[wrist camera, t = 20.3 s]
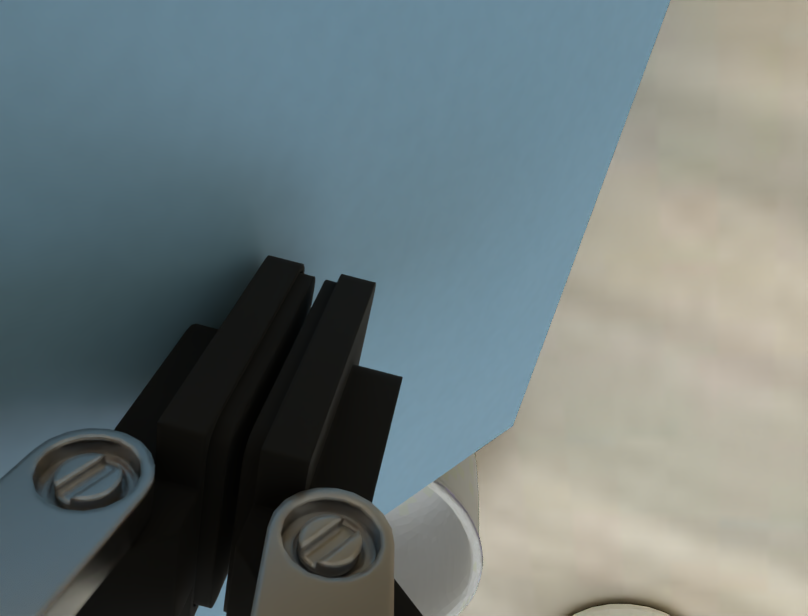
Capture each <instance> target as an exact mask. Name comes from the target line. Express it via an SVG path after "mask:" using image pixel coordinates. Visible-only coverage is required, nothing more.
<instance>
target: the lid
mask: <svg viewBox="0 0 808 616" xmlns="http://www.w3.org/2000/svg"><path fill="white" fill-rule="evenodd" d="M669 3H670V0H0V479H1V478H2V477H3V476H4V475H5V474H6V473H7V472H8V471H10V470H11V469H12V468H13V467H14V466H15V465H16V464H17V463H19V462H20V461H21V460H22V459H23V458H24V457H25V456H26V455H28V454H29V453H30V452H31V451H32V450H33V449H35V448H36V447H38V446H39V445H41V444H42V443H43V442H45V441H46V440H48V439H50V438H52V437H55V436H57V435H60V434H63V433H65V432H68V431H74V430H80V429H86V428H102V429H111V430H114V429H115V428H116V426H117V425H118V424H119V422H120V421H121V419H122V418H123V417H124V415H125V414H126V413H127V411H128V410H129V408H130V407H131V406H132V404H133V403H134V402H135V400H136V399H137V397H138V396H139V395H140V393H141V392H142V391H143V389H144V388H145V386H146V385H147V384H148V382H149V381H150V380H151V378H152V377H153V375H154V374H155V373H156V371H157V370H158V369H159V367H160V366H161V364H162V363H163V362H164V360H165V359H166V358H167V356H168V355H169V354H170V352H171V351H172V349H173V348H174V347H175V345H176V344H177V343H178V341H179V340H180V338H181V337H182V336H183V334H184V333H185V332H186V330H187V329H188V328H189V327H190V326H191V325H193V324H200V325H204V326H208V327H211V328H215V329H219V328H220V326H221V325H222V323H223V322H224V320H225V319H226V317H227V316H228V314H229V313H230V311H231V310H232V308H233V307H234V305H235V304H236V302H237V301H238V299H239V298H240V296H241V295H242V293H243V292H244V290H245V289H246V287H247V286H248V284H249V283H250V281H251V280H252V278H253V277H254V275H255V274H256V272H257V271H258V269H259V267H260V266H261V264H262V263H263V261H264V260H265V258H266V257H267V256H268V255H270V256H274V257H278V258H282V259H286V260H290V261H294V262H298V263H302V264H304V266H305V272H304V274H307V275H311V276H314V277H315V288H314V294H313V300H312V305H313V303H314V301H315V299H316V297H317V295H318V293H319V291H320V289H321V287H322V285H323V283H324V281H325V280H330V281H334V282H337V281H338V279H339V277H340V275H341V274H345V275H348V276H352V277H356V278H360V279H364V280H368V281H372V282H376V288H375V293H374V298H373V303H372V307H371V312H370V316H369V321H368V325H367V330H366V335H365V339H364V344H363V348H362V353H361V357H360V362H359V366H362V367H366V368H370V369H374V370H378V371H382V372H386V373H390V374H393V375H397V376H401V377H403V379H402V383H401V387H400V391H399V395H398V399H397V403H396V407H395V411H394V415H393V419H392V423H391V428H390V432H389V436H388V440H387V444H386V448H385V452H384V456H383V460H382V464H381V468H380V472H379V476H378V480H377V484H376V488H375V492H374V497H373V501H372V504H373V505H375V506H376V507H377V508H378V509H379V510H380V511H381V512H382V513H383V514H384V516H385V515H386V514H387V513H389V512H390V511H392V510H393V509H395V508H396V507H397V506H399V505H400V504H402V503H403V502H405V501H406V500H407V499H409V498H410V497H412V496H413V495H415V494H416V493H417V492H419V491H420V490H422V489H423V488H425V487H426V486H427V485H429V484H430V483H432V482H433V481H435V480H436V479H437V478H439V477H440V476H442V475H443V474H445V473H446V472H447V471H449V470H450V469H452V468H453V467H455V466H456V465H457V464H459V463H460V462H462V461H463V460H465V459H466V458H467V457H469V456H470V455H472V454H473V453H475V452H476V451H478V450H479V449H480V448H482V447H483V446H485V445H486V444H488V443H489V442H490V441H492V440H493V439H495V438H496V437H498V436H499V435H500V434H502V433H503V432H505V431H506V430H508V429H509V428H510V427H512V426H513V424H514V421H515V418H516V416H517V413H518V410H519V408H520V405H521V402H522V400H523V397H524V394H525V392H526V389H527V386H528V383H529V381H530V378H531V375H532V373H533V370H534V367H535V365H536V362H537V359H538V356H539V354H540V351H541V348H542V346H543V343H544V340H545V338H546V335H547V332H548V329H549V327H550V324H551V321H552V319H553V316H554V313H555V311H556V308H557V305H558V302H559V300H560V297H561V294H562V292H563V289H564V286H565V284H566V281H567V278H568V275H569V273H570V270H571V267H572V265H573V262H574V259H575V257H576V254H577V251H578V248H579V246H580V243H581V240H582V238H583V235H584V232H585V230H586V227H587V224H588V221H589V219H590V216H591V213H592V211H593V208H594V205H595V203H596V200H597V197H598V194H599V192H600V189H601V186H602V184H603V181H604V178H605V176H606V173H607V170H608V167H609V165H610V162H611V159H612V157H613V154H614V151H615V149H616V146H617V143H618V140H619V138H620V135H621V132H622V130H623V127H624V124H625V122H626V119H627V116H628V113H629V111H630V108H631V105H632V103H633V100H634V97H635V95H636V92H637V89H638V87H639V84H640V81H641V78H642V76H643V73H644V70H645V68H646V65H647V62H648V60H649V57H650V54H651V51H652V49H653V46H654V43H655V41H656V38H657V35H658V33H659V30H660V27H661V24H662V22H663V19H664V16H665V14H666V11H667V8H668V6H669ZM312 305H311V307H312ZM227 576H228V574H227ZM226 584H227V577H226V579H225V581H224V584H223V586H222V588H221V591H220V593H219V596H218V598H217V600H216V602H215V604H214V606H213V607H212V608H207V607H203V606H200V605H199V607H198V609H197V611H196V613H195V616H226V612H224V611H223V609H224V600H225V592H226Z"/></svg>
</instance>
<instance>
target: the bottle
mask: <svg viewBox="0 0 808 616" xmlns="http://www.w3.org/2000/svg"><path fill="white" fill-rule="evenodd" d="M573 616H670V615H668V614H667V613H664V612H662V611H659V610H656V609H653V608H650V607H646V606H640V605H633V604H607V605H602V606H596V607H591V608H589V609H586V610H584V611H581V612H579V613H576V614H574V615H573Z"/></svg>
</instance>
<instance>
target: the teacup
mask: <svg viewBox="0 0 808 616" xmlns="http://www.w3.org/2000/svg"><path fill="white" fill-rule="evenodd" d="M385 518H386V519H387V521H388V523H389V525H390V526H391V528H392V533H393V539H394V579H395V580H396V581H397V582H398V584H399V585H400V586H401V588H402V589H403V590H404V592H405V593H406V594H407V596H408V597H409V598H410V599H411V601H412V602H413V603H414V605H415V606H416V607H417V609H418V610H419V611H420V612H421V614H422V615H423V616H458V615H459V614H460V613H461V612H462V611H463V610H464V609H465V607H466V606H467V605H468V604H469V602H470V601H471V599H472V598H473V596H474V594H475V593H476V590H477V587H478V584H479V581H480V577H481V573H482V567H483V555H482V547H481V542H480V537H479V494H478V477H477V466H476V458H475V453H473V454H472V455H470V456H469V457H467V458H466V459H465V460H463V461H462V462H460V463H459V464H457V465H456V466H455V467H453V468H452V469H450V470H449V471H447V472H446V473H445V474H443V475H442V476H440V477H439V478H437V479H436V480H435V481H433V482H432V483H430V484H429V485H427V486H426V487H425V488H423V489H422V490H420V491H419V492H417V493H416V494H415V495H413V496H412V497H410V498H409V499H407V500H406V501H405V502H403V503H402V504H400V505H399V506H397V507H396V508H395V509H393V510H392V511H390V512H389V513H387V514H386V515H385Z"/></svg>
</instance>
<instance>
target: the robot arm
mask: <svg viewBox="0 0 808 616" xmlns="http://www.w3.org/2000/svg"><path fill="white" fill-rule="evenodd" d="M304 272H305V266H304V264H302V263H298V262H294V261H290V260H286V259H282V258H278V257H274V256H270V255H268V256H267V257H266V258H265V260H264V261H263V263H262V264H261V266H260V267H259V269H258V271H257V272H256V274H255V275H254V277H253V278H252V280H251V281H250V283H249V284H248V286H247V287H246V289H245V290H244V292H243V293H242V295H241V296H240V298H239V299H238V301H237V302H236V304H235V305H234V307H233V308H232V310H231V311H230V313H229V314H228V316H227V317H226V319H225V320H224V322H223V323H222V325H221V326H220V328H219V329H215V328H211V327H208V326H204V325H200V324H193V325H191V326H190V327H189V328H188V329H187V330H186V332H185V333H184V334H183V336H182V337H181V338H180V340H179V341H178V343H177V344H176V345H175V347H174V348H173V349H172V351H171V352H170V354H169V355H168V356H167V358H166V359H165V360H164V362H163V363H162V364H161V366H160V367H159V369H158V370H157V371H156V373H155V374H154V375H153V377H152V378H151V380H150V381H149V382H148V384H147V385H146V386H145V388H144V389H143V391H142V392H141V393H140V395H139V396H138V397H137V399H136V400H135V402H134V403H133V404H132V406H131V407H130V408H129V410H128V411H127V413H126V414H125V415H124V417H123V418H122V419H121V421H120V422H119V424H118V425H117V426H116V428H115V429H114V430H111V429H102V428H86V429H80V430H74V431H68V432H65V433H63V434H60V435H57V436H55V437H52V438H50V439H48V440H46V441H45V442H43V443H42V444H41V445H39V446H38V447H36V448H35V449H33V450H32V451H31V452H30V453H29V454H28V455H26V456H25V457H24V458H23V459H22V460H21V461H20V462H19V463H17V464H16V465H15V466H14V467H13V468H12V469H11V470H10V471H8V472H7V473H6V474H5V475H4V476H3V477H2V478H1V479H0V616H195V613H196V611H197V609H198V607H199V605H200V606H203V607H207V608H212V607H213V606H214V604H215V602H216V600H217V598H218V596H219V593H220V591H221V588H222V586H223V584H224V581H225V579H226V577H227V584H226V592H225V600H224V609H223V611H224V612H226V616H423V615H422V614H421V612H420V611H419V610H418V609H417V607H416V606H415V605H414V603H413V602H412V601H411V599H410V598H409V597H408V596H407V594H406V593H405V592H404V590H403V589H402V588H401V586H400V585H399V584H398V582H397V581H396V580H395V579H394V539H393V533H392V528H391V526H390V525H389V523H388V521H387V519H386V518H385V516H384V514H383V513H382V512H381V511H380V510H379V509H378V508H377V507H376V506H375V505H373V504H372V501H373V497H374V492H375V488H376V484H377V480H378V476H379V472H380V468H381V464H382V460H383V456H384V452H385V448H386V444H387V440H388V436H389V432H390V428H391V423H392V419H393V415H394V411H395V407H396V403H397V399H398V395H399V391H400V387H401V383H402V379H403V377H401V376H397V375H393V374H390V373H386V372H382V371H378V370H374V369H370V368H366V367H362V366H359V362H360V357H361V353H362V348H363V344H364V339H365V335H366V330H367V325H368V321H369V316H370V312H371V307H372V303H373V298H374V293H375V288H376V282H372V281H368V280H364V279H360V278H356V277H352V276H348V275H345V274H341V275H340V277H339V279H338V281H337V282H334V281H330V280H325V281H324V283H323V285H322V287H321V289H320V291H319V293H318V295H317V297H316V299H315V301H314V303H313V305H312V300H313V294H314V288H315V277H314V276H311V275H307V274H304ZM311 305H312V307H311ZM227 574H228V576H227Z"/></svg>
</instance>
